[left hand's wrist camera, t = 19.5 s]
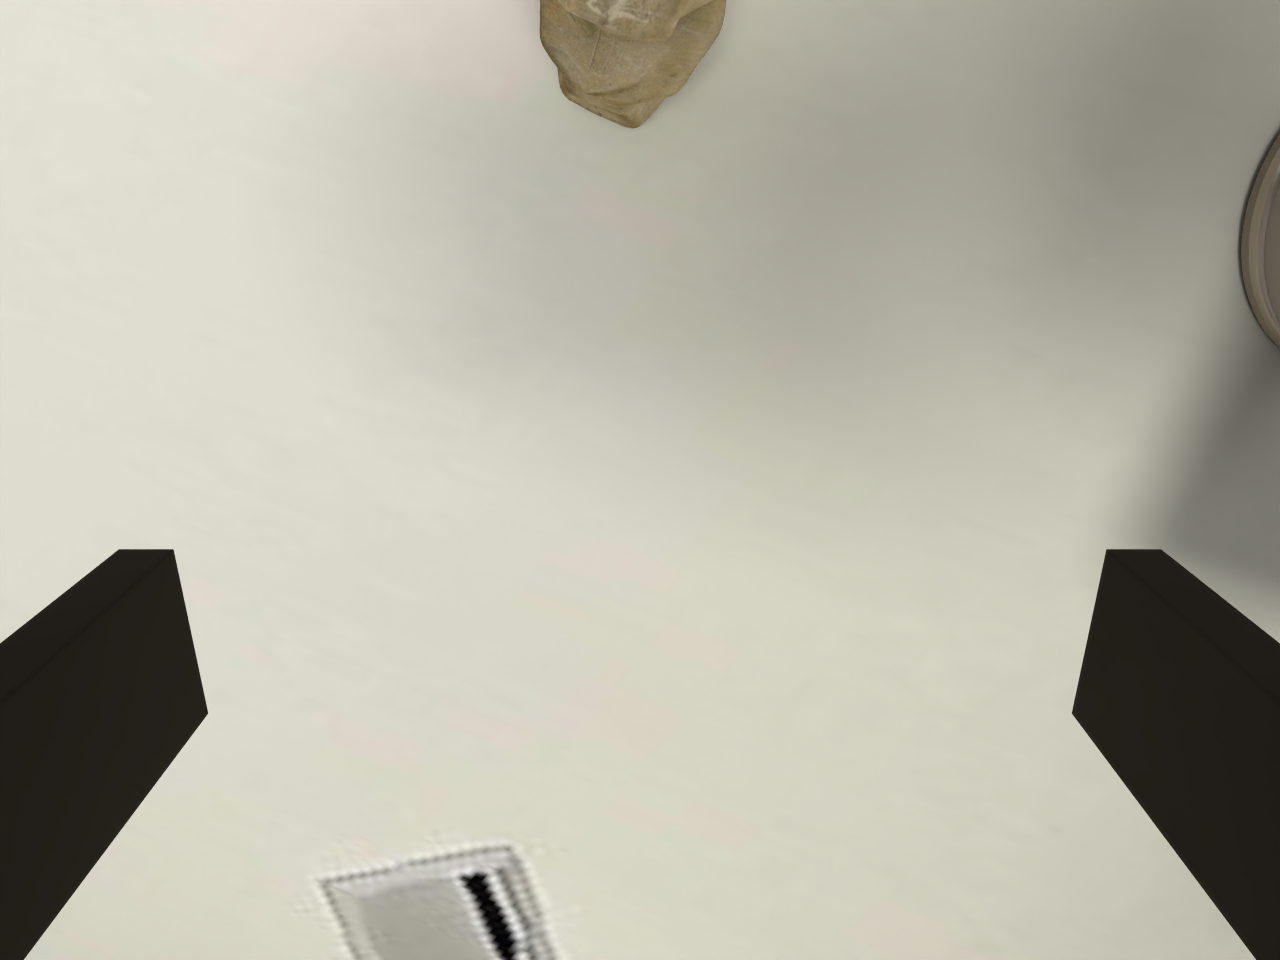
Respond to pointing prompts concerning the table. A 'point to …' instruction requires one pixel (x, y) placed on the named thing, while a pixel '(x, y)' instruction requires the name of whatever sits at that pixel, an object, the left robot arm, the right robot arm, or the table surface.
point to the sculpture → (627, 50)
